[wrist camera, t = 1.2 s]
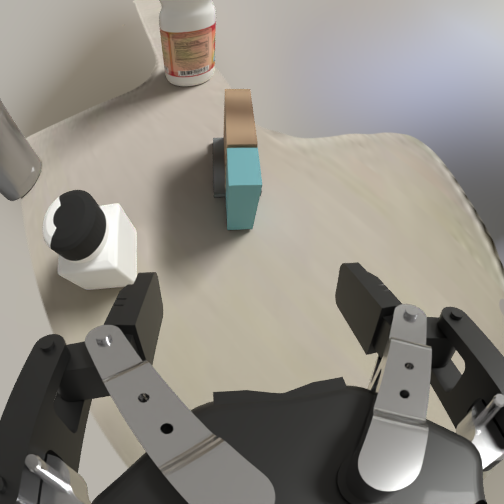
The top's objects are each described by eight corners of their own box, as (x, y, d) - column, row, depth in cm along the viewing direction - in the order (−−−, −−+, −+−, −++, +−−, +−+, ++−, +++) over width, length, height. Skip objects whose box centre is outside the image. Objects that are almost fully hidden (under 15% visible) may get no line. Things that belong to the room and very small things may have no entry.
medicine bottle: (137, 230, 32) (103, 174, 21) (138, 286, 30) (95, 249, 19) (88, 236, 32) (42, 188, 20) (85, 290, 29) (29, 258, 18)
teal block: (252, 229, 34) (262, 184, 25) (227, 229, 33) (228, 185, 24) (249, 196, 35) (257, 147, 26) (225, 197, 35) (227, 148, 26)
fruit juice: (156, 79, 43) (141, -49, 17) (190, 59, 46) (188, -58, 20) (190, 93, 42) (184, -54, 16) (224, 71, 45) (233, -58, 19)
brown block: (260, 195, 36) (272, 144, 26) (213, 197, 35) (211, 145, 26) (254, 141, 39) (262, 89, 29) (213, 142, 38) (212, 89, 29)
